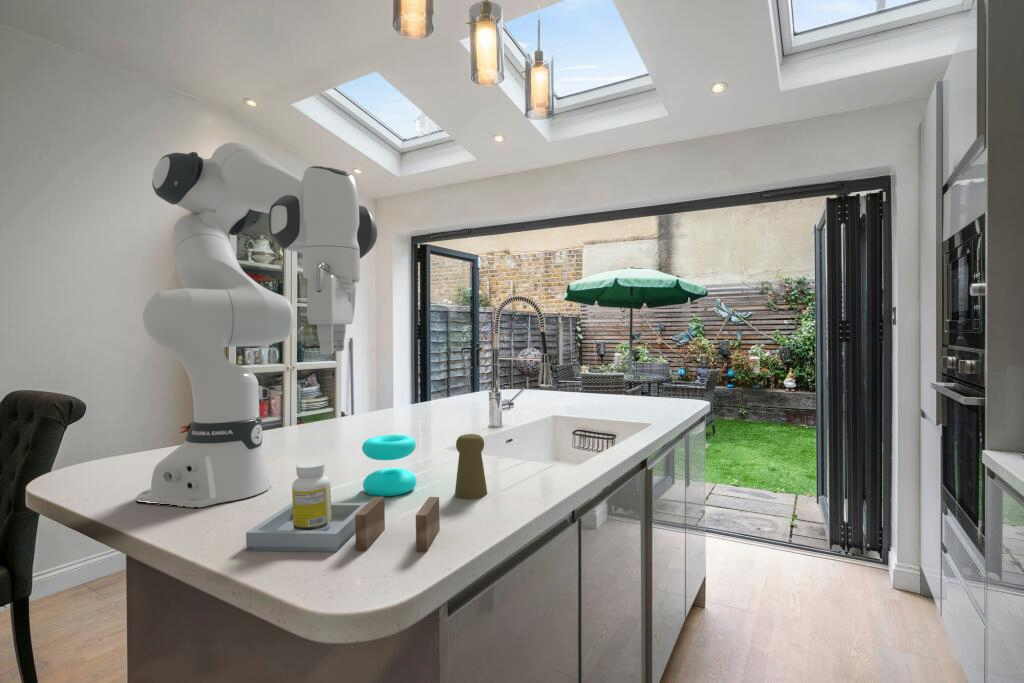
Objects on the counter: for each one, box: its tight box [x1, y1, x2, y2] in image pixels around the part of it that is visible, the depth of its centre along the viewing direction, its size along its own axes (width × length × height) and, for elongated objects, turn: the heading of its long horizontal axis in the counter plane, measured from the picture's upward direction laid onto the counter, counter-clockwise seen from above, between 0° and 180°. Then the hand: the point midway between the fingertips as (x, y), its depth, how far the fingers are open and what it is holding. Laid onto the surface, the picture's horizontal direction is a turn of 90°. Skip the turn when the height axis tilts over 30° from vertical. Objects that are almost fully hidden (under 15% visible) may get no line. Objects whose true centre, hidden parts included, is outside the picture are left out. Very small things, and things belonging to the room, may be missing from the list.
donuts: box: [361, 434, 417, 497], centre depth 101 cm, size 10×10×10 cm
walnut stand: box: [355, 496, 441, 553], centre depth 76 cm, size 10×8×5 cm
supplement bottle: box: [291, 460, 332, 531], centre depth 80 cm, size 5×5×10 cm
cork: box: [454, 433, 488, 500], centre depth 98 cm, size 6×6×11 cm
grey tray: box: [245, 502, 368, 553], centre depth 79 cm, size 13×13×2 cm
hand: (333, 352), depth 86 cm, fingers open, 8 cm apart
